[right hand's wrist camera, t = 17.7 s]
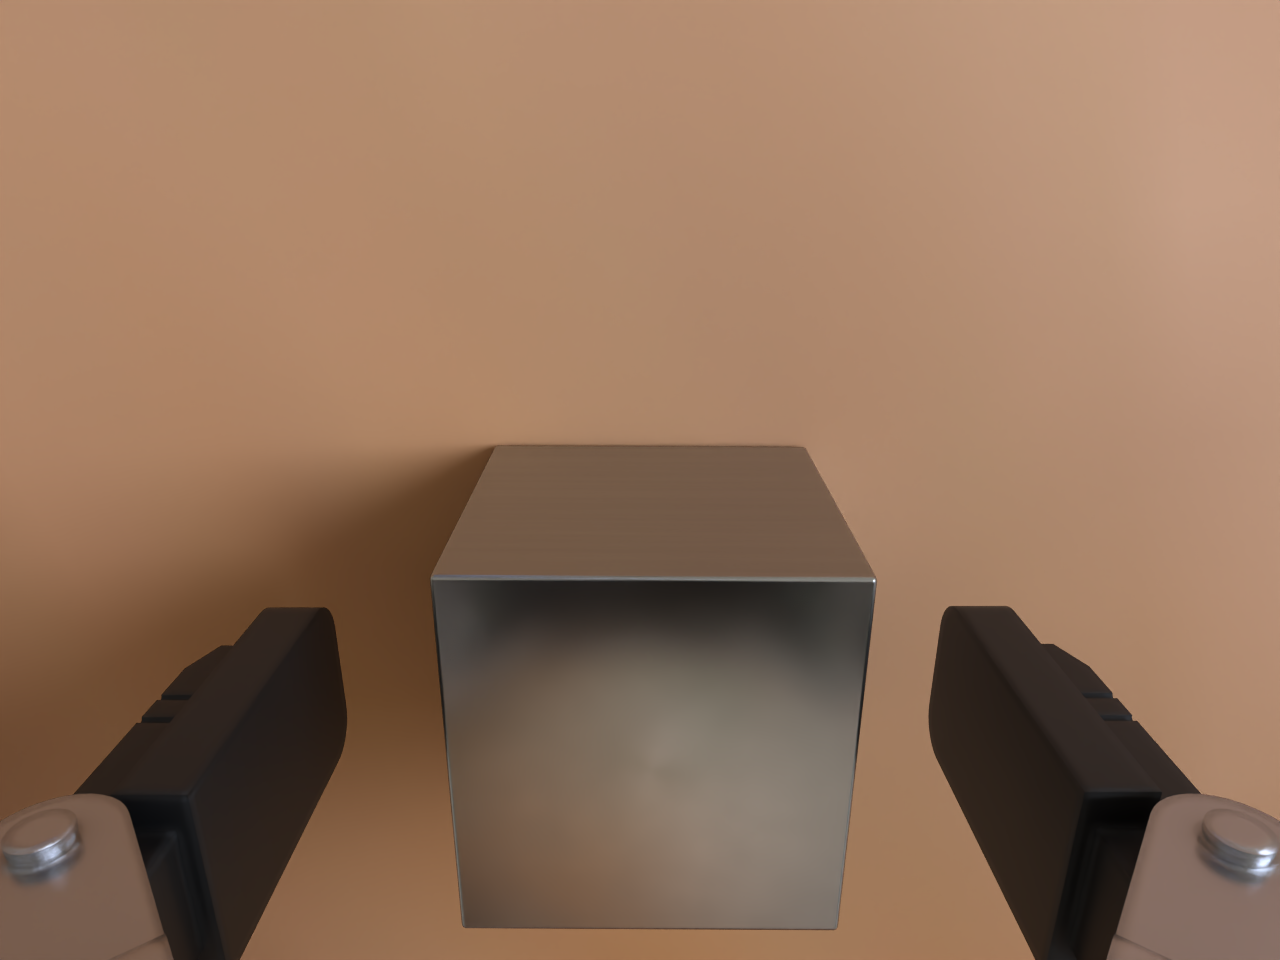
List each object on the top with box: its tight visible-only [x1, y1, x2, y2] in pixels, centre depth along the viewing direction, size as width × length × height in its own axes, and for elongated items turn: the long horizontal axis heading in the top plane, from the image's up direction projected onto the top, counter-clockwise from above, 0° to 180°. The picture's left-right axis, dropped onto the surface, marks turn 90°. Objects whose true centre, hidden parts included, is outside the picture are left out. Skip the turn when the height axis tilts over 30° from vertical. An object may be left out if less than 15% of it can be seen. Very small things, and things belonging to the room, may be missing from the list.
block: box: [430, 446, 877, 930], centre depth 11 cm, size 4×5×4 cm
